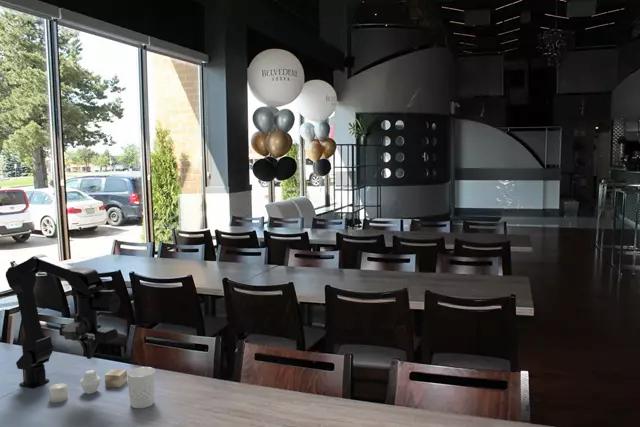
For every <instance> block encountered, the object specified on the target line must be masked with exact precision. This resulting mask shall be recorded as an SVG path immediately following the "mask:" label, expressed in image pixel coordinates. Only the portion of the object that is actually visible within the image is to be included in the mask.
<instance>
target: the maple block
mask: <svg viewBox="0 0 640 427" xmlns="http://www.w3.org/2000/svg"><path fill="white" fill-rule="evenodd" d="M127 373H128V370H127V369H117V368H115V369H114V368H112V369H111V370H109V371H108V372H107V373H105V375H104V386H105V387H107V388H108V387H111V388H112V387H113V388H121V387H122V386H123V385H125V383H128V375H127Z"/></svg>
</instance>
